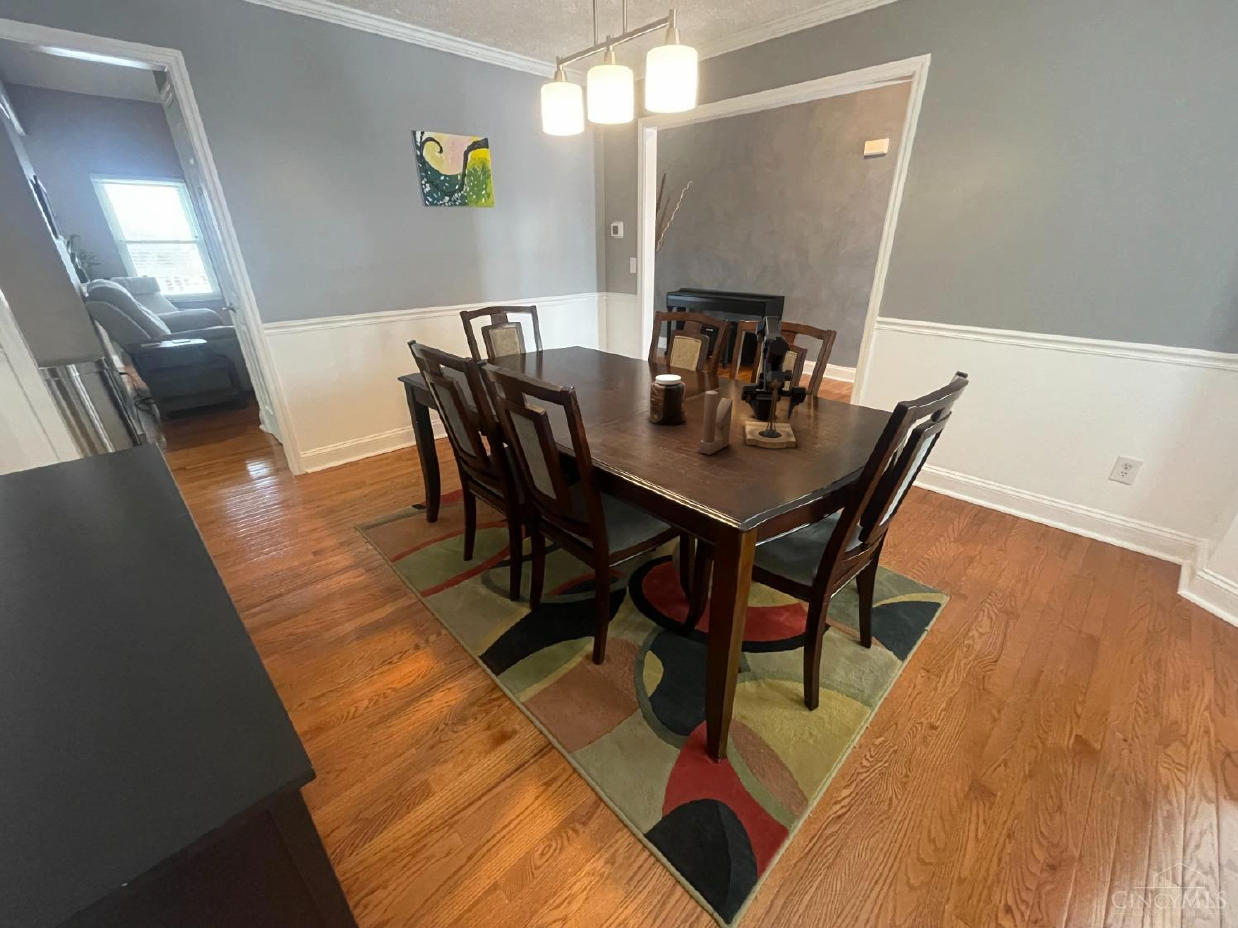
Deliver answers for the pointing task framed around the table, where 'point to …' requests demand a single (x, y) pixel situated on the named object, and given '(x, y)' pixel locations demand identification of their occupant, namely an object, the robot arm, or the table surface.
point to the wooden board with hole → (755, 438)
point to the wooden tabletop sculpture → (772, 411)
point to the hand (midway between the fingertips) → (772, 418)
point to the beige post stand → (715, 423)
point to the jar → (667, 400)
